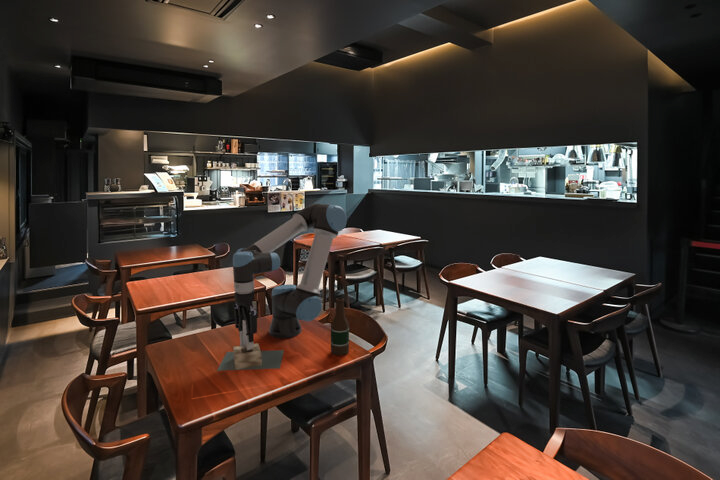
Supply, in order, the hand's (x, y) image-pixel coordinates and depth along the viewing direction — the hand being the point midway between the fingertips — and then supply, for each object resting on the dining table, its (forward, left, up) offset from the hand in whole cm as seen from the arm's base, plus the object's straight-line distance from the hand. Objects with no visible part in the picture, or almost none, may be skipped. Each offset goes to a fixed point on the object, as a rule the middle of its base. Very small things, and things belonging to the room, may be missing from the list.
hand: (246, 347), depth 158 cm
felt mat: (-2, -1, -7) cm, 7 cm away
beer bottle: (-38, +4, -7) cm, 39 cm away
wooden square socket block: (0, 0, -6) cm, 6 cm away
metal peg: (0, 0, -6) cm, 6 cm away
